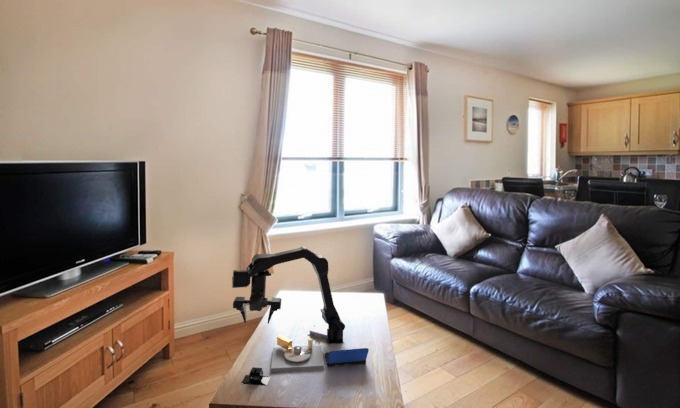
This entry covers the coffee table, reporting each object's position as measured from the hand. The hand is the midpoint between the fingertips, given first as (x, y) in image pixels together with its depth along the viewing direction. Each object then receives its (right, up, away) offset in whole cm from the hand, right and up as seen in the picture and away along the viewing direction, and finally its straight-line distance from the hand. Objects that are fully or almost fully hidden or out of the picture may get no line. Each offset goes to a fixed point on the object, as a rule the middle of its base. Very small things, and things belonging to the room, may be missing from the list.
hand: (256, 323), depth 149 cm
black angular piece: (+3, -16, -16) cm, 23 cm away
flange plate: (+15, -12, -2) cm, 19 cm away
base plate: (+17, -14, -3) cm, 22 cm away
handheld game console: (+36, -15, -4) cm, 39 cm away
